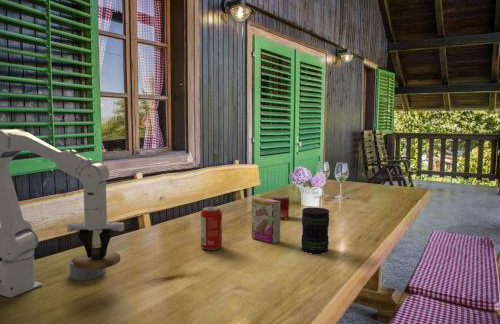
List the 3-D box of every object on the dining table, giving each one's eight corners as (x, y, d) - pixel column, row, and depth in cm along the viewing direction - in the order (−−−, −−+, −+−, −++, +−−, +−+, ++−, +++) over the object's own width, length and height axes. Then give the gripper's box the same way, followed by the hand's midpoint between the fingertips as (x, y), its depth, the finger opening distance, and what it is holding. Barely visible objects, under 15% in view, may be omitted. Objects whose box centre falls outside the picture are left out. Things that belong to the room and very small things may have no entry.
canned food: (291, 217, 195) (291, 195, 194) (283, 220, 189) (284, 198, 188) (277, 215, 199) (277, 194, 198) (269, 218, 193) (270, 196, 192)
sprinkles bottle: (91, 250, 143) (90, 213, 142) (104, 249, 143) (103, 213, 142) (87, 254, 138) (86, 216, 137) (101, 254, 139) (99, 216, 138)
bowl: (86, 282, 114) (85, 267, 113) (62, 276, 118) (61, 261, 118) (112, 271, 123) (111, 257, 122) (89, 265, 127) (88, 252, 127)
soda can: (197, 249, 144) (196, 209, 143) (206, 243, 151) (206, 205, 150) (216, 252, 141) (216, 211, 140) (225, 246, 149) (225, 207, 147)
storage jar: (312, 244, 151) (312, 206, 150) (333, 250, 144) (334, 210, 143) (295, 250, 144) (296, 210, 143) (317, 256, 137) (318, 214, 136)
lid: (95, 276, 100) (94, 256, 100) (63, 268, 105) (62, 250, 105) (129, 261, 111) (129, 243, 110) (98, 255, 116) (98, 238, 116)
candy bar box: (251, 239, 158) (251, 198, 157) (259, 236, 162) (259, 197, 160) (272, 244, 150) (273, 202, 149) (280, 242, 154) (281, 200, 153)
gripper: (61, 211, 102) (63, 262, 104) (118, 210, 103) (120, 261, 104) (72, 205, 109) (74, 253, 111) (125, 205, 110) (126, 252, 111)
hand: (96, 256), depth 108 cm, fingers closed on lid, 3 cm apart
